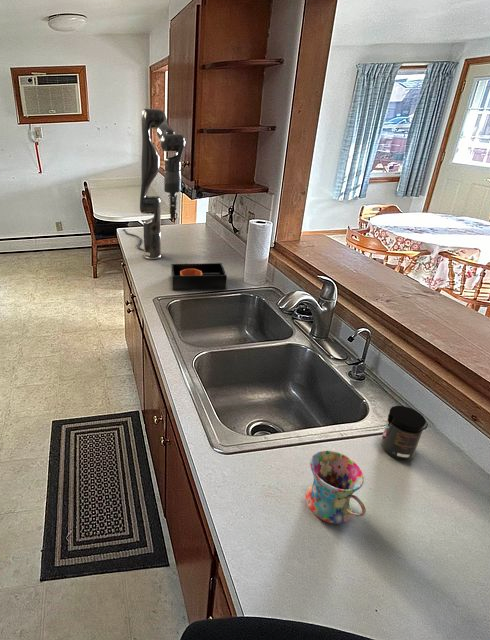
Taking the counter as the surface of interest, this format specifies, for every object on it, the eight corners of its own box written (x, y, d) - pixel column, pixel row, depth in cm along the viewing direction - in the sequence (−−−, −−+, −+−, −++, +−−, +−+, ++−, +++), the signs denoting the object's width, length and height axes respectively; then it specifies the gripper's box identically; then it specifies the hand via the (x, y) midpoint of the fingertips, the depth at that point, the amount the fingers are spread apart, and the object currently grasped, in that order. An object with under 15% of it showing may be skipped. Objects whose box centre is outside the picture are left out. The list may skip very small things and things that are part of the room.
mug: (293, 493, 83) (299, 457, 78) (329, 480, 85) (337, 445, 81) (335, 549, 72) (346, 510, 68) (375, 533, 75) (388, 495, 70)
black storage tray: (171, 276, 188) (171, 263, 186) (220, 276, 187) (221, 263, 184) (172, 290, 175) (172, 276, 172) (225, 289, 173) (226, 275, 170)
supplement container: (404, 439, 94) (415, 406, 90) (419, 463, 88) (432, 428, 84) (374, 438, 95) (384, 404, 91) (387, 461, 89) (398, 426, 85)
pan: (180, 286, 176) (180, 277, 175) (179, 277, 186) (179, 268, 184) (221, 285, 175) (221, 276, 173) (217, 276, 184) (218, 268, 182)
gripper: (181, 183, 170) (181, 219, 177) (180, 178, 183) (179, 211, 190) (164, 184, 171) (164, 220, 177) (164, 178, 184) (164, 212, 190)
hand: (172, 215), depth 184 cm, fingers open, 8 cm apart
